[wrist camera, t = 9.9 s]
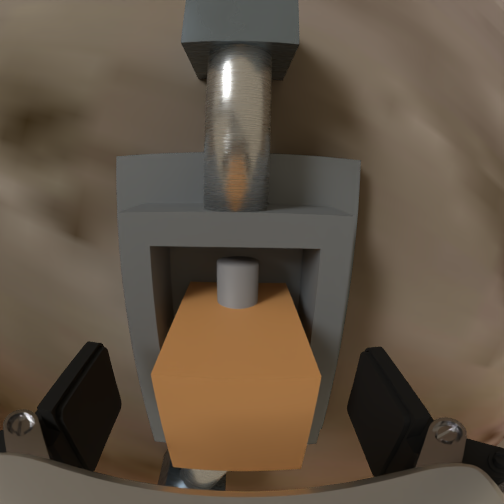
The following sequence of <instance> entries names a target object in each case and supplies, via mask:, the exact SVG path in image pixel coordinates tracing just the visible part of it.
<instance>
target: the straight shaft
mask: <svg viewBox="0 0 504 504" xmlns="http://www.w3.org/2000/svg"><path fill="white" fill-rule="evenodd" d="M181 44H182V46H183V48H184V50H185V52H186V54H187V56H188V58H189V60H190V62H191V64H192V66H193V68H194V71H195V73H196V75H197V77H198V79H207V90H206V111H205V140H204V198H203V208H204V209H205V210H210V211H219V212H259V211H266V210H268V199H269V166H270V128H271V79H272V80H283V78H284V76H285V74H286V72H287V69H288V67H289V65H290V63H291V61H292V59H293V57H294V55H295V52H296V50H297V48H298V46H299V10H298V0H186V5H185V13H184V21H183V29H182V38H181Z"/></svg>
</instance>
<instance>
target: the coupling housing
mask: <svg viewBox="0 0 504 504" xmlns="http://www.w3.org/2000/svg"><path fill="white" fill-rule="evenodd" d="M360 165H361V160H352V159H343V158H332V157H320V156H307V155H291V154H271V153H270V166H269V199H268V210H266V211H259V212H219V211H210V210H205V209H204V208H203V198H204V152H200V153H165V154H145V155H130V156H117V167H116V178H117V218H118V236H119V249H120V261H121V271H122V281H123V289H124V297H125V305H126V312H127V318H128V325H129V331H130V337H131V342H132V348H133V353H134V358H135V363H136V368H137V373H138V378H139V382H140V387H141V391H142V395H143V399H144V403H145V407H146V411H147V415H148V419H149V422H150V426H151V430H152V433H153V437H154V440H155V441H158V442H166V440H165V436H164V432H163V428H162V424H161V420H160V415H159V411H158V407H157V402H156V397H155V393H154V388H153V383H152V378H151V373H152V370H153V368H154V365H155V363H156V360H157V358H158V355H159V353H160V351H161V348H162V346H163V344H164V341H165V339H166V336H167V334H168V332H169V329H170V327H171V325H172V322H173V320H174V318H175V315H176V313H177V311H178V309H179V306H180V304H181V302H182V299H183V297H184V295H185V293H186V290H187V288H188V286H189V284H190V282H217V260H218V259H220V258H223V257H228V256H247V257H252V258H255V259H257V260H258V261H259V279H258V283H286V285H287V287H288V290H289V292H290V295H291V297H292V300H293V303H294V305H295V308H296V310H297V313H298V316H299V318H300V321H301V324H302V326H303V329H304V331H305V334H306V337H307V339H308V342H309V345H310V347H311V350H312V353H313V355H314V358H315V361H316V363H317V366H318V369H319V371H320V374H321V382H320V387H319V392H318V397H317V402H316V407H315V411H314V416H313V421H312V425H311V429H310V434H309V438H308V442H307V444H316V443H317V439H318V435H319V431H320V429H322V426H323V422H324V418H325V414H326V410H327V406H328V402H329V398H330V394H331V389H332V385H333V380H334V376H335V371H336V366H337V361H338V356H339V351H340V345H341V340H342V334H343V329H344V323H345V317H346V310H347V304H348V297H349V290H350V283H351V275H352V267H353V258H354V249H355V239H356V229H357V217H358V203H359V187H360Z"/></svg>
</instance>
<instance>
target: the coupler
mask: <svg viewBox="0 0 504 504" xmlns="http://www.w3.org/2000/svg"><path fill="white" fill-rule="evenodd" d="M258 279H259V261H258V260H257V259H255V258H252V257H247V256H228V257H223V258H220V259H218V260H217V282H190V284H189V286H188V288H187V290H186V293H185V295H184V297H183V299H182V302H181V304H180V306H179V309H178V311H177V313H176V315H175V318H174V320H173V322H172V325H171V327H170V329H169V332H168V334H167V336H166V339H165V341H164V344H163V346H162V348H161V351H160V353H159V355H158V358H157V360H156V363H155V365H154V368H153V370H152V373H151V378H152V383H153V388H154V393H155V397H156V402H157V407H158V411H159V415H160V420H161V424H162V428H163V432H164V436H165V440H166V443H167V447H168V451H169V454H170V458H171V461H172V465H173V467H177V468H187V469H200V470H217V471H273V470H290V469H301V466H302V462H303V458H304V454H305V450H306V446H307V442H308V438H309V434H310V429H311V425H312V421H313V416H314V411H315V407H316V402H317V397H318V392H319V387H320V382H321V374H320V371H319V369H318V366H317V363H316V361H315V358H314V355H313V353H312V350H311V347H310V345H309V342H308V339H307V337H306V334H305V331H304V329H303V326H302V324H301V321H300V318H299V316H298V313H297V310H296V308H295V305H294V303H293V300H292V297H291V295H290V292H289V290H288V287H287V285H286V283H258Z"/></svg>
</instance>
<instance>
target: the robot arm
mask: <svg viewBox="0 0 504 504" xmlns="http://www.w3.org/2000/svg"><path fill="white" fill-rule="evenodd" d="M37 409H38V410H37V411H36V413H33V412H32V411H29V410H24V409H23V410H17V411H14V412H12V413H10V414H9V415H8V416H7V417H6V418H5V420H4V423H3V430H1V431H0V504H504V448H501V447H497V446H493V445H489V444H485V443H481V442H478V441H474V440H471V439H467V438H466V437H467V435H466V430H465V427H464V426H463V425H462V424H461V423H460V422H458V421H457V420H454V419H452V418H439V419H436V420H433V419H432V417H431V415H430V414H429V412H428V411H427V409H426V408H425V406H424V405H423V403H422V402H421V401H420V399H419V398H418V396H417V395H416V393H415V392H414V391H413V389H412V388H411V386H410V385H409V384H408V382H407V381H406V379H405V378H404V377H403V375H402V374H401V372H400V371H399V370H398V368H397V367H396V365H395V364H394V363H393V361H392V360H391V359H390V357H389V356H388V354H387V353H386V352H385V350H384V349H383V348H382V347H371V348H366V350H365V352H362V353H361V355H360V359H359V363H358V367H357V371H356V375H355V379H354V383H353V387H352V390H351V394H350V398H349V401H348V405H347V411H348V414H349V417H350V419H351V422H352V424H353V426H354V429H355V431H356V434H357V436H358V439H359V441H360V444H361V446H362V449H363V451H364V454H365V456H366V459H367V461H368V464H369V467H370V469H371V472H372V474H373V476H374V477H373V478H368V479H363V480H357V481H352V482H346V483H340V484H334V485H327V486H320V487H312V488H302V489H290V490H274V491H214V490H199V489H187V488H178V487H169V486H162V485H155V484H149V483H143V482H137V481H132V480H127V479H122V478H118V477H113V476H109V475H105V474H101V473H96V472H93V471H94V470H95V468H96V466H97V463H98V461H99V458H100V456H101V454H102V451H103V449H104V446H105V444H106V442H107V439H108V437H109V435H110V432H111V430H112V428H113V425H114V423H115V421H116V418H117V416H118V414H119V412H120V409H121V398H120V395H119V392H118V388H117V385H116V381H115V377H114V373H113V369H112V365H111V361H110V357H109V353H108V350H107V348H105V347H104V346H103V344H101V343H95V342H87V343H86V344H85V345H84V346H83V348H82V349H81V350H80V351H79V353H78V354H77V355H76V356H75V358H74V359H73V360H72V361H71V363H70V364H69V365H68V367H67V368H66V369H65V370H64V372H63V373H62V374H61V376H60V377H59V378H58V380H57V381H56V382H55V384H54V385H53V386H52V388H51V389H50V390H49V392H48V393H47V394H46V396H45V397H44V398H43V400H42V401H41V403H40V404H39V405H38V407H37Z"/></svg>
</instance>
